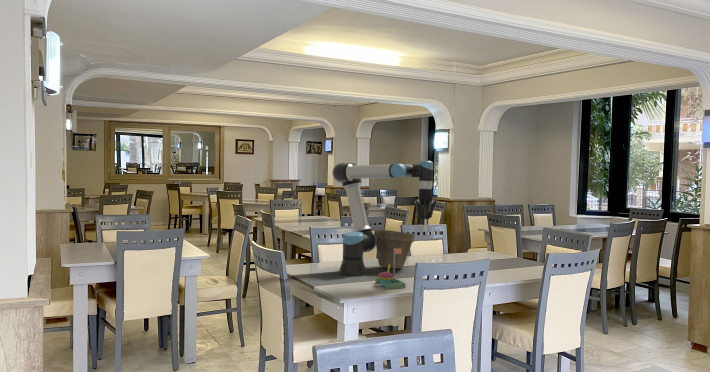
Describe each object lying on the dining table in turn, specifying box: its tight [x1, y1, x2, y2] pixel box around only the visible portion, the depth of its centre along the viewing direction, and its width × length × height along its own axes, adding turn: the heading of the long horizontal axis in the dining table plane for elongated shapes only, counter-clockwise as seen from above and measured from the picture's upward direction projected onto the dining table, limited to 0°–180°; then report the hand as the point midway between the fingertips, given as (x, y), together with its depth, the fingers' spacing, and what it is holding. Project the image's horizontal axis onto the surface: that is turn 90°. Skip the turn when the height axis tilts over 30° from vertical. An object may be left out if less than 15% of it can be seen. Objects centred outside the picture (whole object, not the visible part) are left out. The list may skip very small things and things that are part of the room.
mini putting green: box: [374, 248, 406, 290], centre depth 292 cm, size 15×16×18 cm
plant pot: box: [373, 228, 416, 269], centre depth 341 cm, size 25×25×22 cm
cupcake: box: [377, 264, 394, 287], centre depth 290 cm, size 9×8×12 cm
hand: (424, 230), depth 314 cm, fingers closed
